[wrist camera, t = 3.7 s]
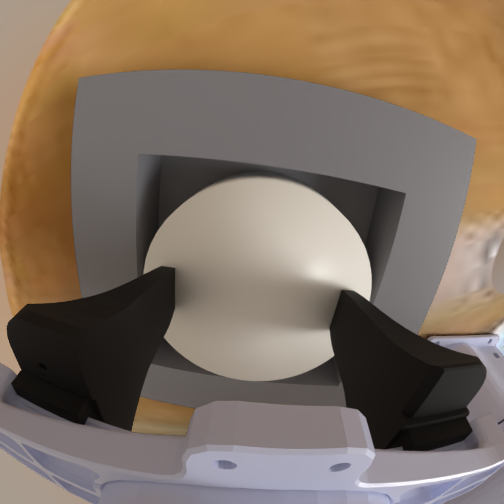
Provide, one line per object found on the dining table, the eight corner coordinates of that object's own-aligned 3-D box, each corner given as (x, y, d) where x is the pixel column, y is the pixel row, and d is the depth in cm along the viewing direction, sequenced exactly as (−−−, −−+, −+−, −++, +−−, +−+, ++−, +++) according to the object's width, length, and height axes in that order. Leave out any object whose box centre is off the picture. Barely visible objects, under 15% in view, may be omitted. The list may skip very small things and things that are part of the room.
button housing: (438, 135, 13) (476, 139, 9) (357, 383, 19) (368, 417, 16) (114, 86, 12) (79, 77, 9) (121, 353, 19) (103, 385, 16)
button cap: (371, 190, 13) (398, 205, 10) (325, 349, 17) (334, 386, 14) (169, 160, 13) (144, 168, 10) (166, 329, 17) (150, 364, 14)
